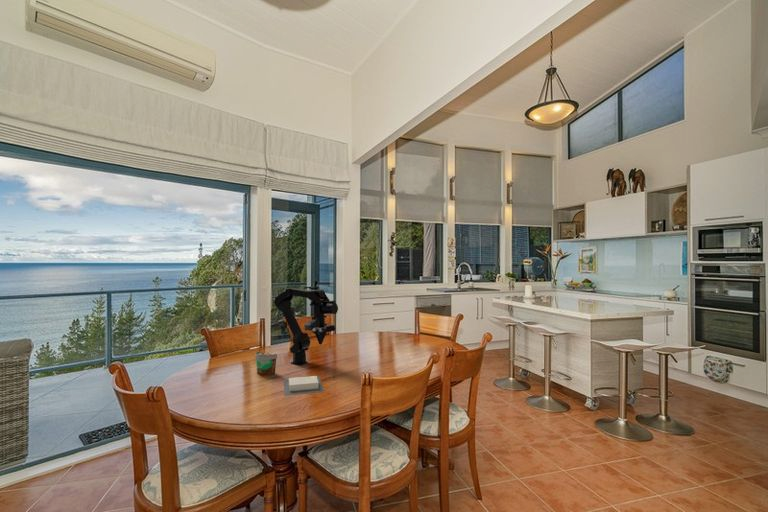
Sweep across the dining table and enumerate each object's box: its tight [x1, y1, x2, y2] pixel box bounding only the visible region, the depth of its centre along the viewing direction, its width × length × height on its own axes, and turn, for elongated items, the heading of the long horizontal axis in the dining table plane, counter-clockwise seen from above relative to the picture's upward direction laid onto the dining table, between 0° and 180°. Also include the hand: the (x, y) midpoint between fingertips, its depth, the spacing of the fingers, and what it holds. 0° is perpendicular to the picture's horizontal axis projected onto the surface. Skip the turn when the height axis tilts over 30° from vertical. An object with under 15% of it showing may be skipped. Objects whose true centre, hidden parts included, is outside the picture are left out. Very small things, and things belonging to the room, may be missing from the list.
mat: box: [283, 375, 325, 397], centre depth 152 cm, size 20×16×1 cm
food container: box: [254, 350, 278, 376], centre depth 167 cm, size 12×6×10 cm, turn 62°
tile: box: [288, 375, 319, 392], centre depth 150 cm, size 3×12×9 cm
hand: (320, 344), depth 180 cm, fingers closed
